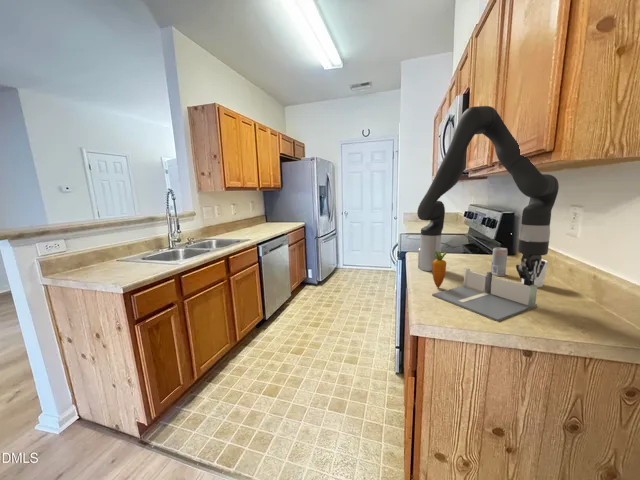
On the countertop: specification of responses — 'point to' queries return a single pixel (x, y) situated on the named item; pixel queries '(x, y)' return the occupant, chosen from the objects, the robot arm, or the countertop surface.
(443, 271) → the carrot
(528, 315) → the countertop surface
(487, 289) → the bar
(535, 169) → the robot arm
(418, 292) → the countertop surface
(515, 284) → the fence gate
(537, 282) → the white cup
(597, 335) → the countertop surface
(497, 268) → the energy drink
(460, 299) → the card
